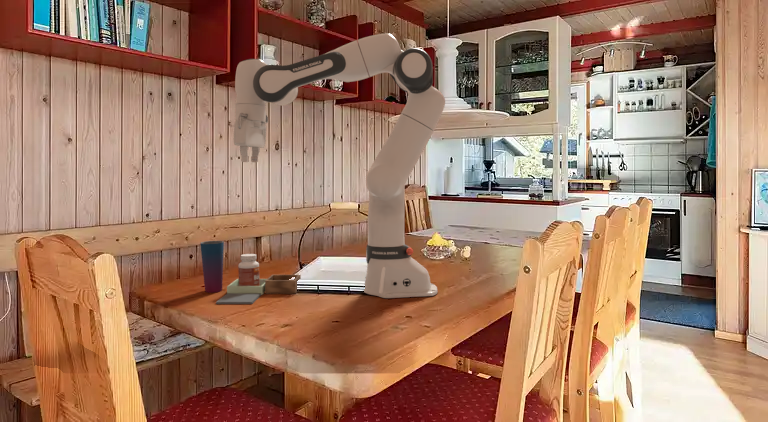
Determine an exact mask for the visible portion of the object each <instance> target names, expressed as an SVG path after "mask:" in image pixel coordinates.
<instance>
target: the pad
mask: <svg viewBox="0 0 768 422" xmlns="http://www.w3.org/2000/svg"><path fill="white" fill-rule="evenodd" d="M261 296H262V295H261V293H227V292H226V294H225V295H223V296H222V297H220V298H219V299H217V301H215V304H216V305H253V304H254V303H255V302H256V301H257V300H258V299H259V298H260V297H261Z"/></svg>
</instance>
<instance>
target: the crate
mask: <svg viewBox="0 0 768 422" xmlns="http://www.w3.org/2000/svg"><path fill="white" fill-rule="evenodd" d="M292 277H295V279H294V280H289V279H291V278H292ZM301 277H302V275H301V274H271V275H270V276H269V277H268V278H266V279H267V280H266V281H265V293H264V294H265V295H296V294H297V293H298V292H297V281H298V280H299V279H302V278H301Z"/></svg>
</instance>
